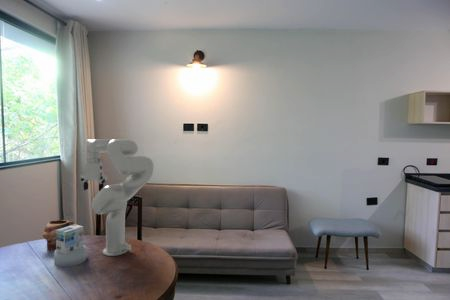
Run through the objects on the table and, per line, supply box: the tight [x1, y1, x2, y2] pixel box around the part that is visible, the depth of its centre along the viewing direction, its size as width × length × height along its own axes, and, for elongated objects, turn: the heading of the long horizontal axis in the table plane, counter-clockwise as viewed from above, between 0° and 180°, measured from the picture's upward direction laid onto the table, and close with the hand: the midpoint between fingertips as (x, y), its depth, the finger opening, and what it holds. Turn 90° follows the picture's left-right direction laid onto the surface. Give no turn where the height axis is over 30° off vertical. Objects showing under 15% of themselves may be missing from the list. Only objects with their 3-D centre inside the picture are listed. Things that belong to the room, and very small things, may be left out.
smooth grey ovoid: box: [53, 244, 87, 268], centre depth 144 cm, size 14×14×6 cm
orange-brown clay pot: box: [42, 219, 75, 251], centre depth 162 cm, size 20×12×14 cm, turn 170°
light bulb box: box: [56, 224, 84, 254], centre depth 143 cm, size 11×7×11 cm, turn 155°
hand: (93, 190), depth 168 cm, fingers open, 9 cm apart
